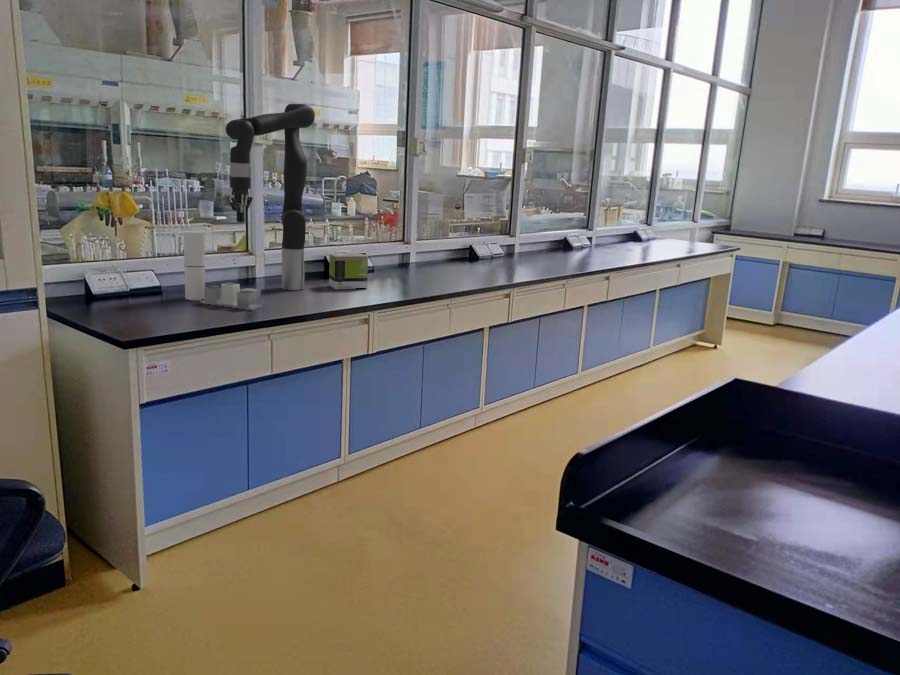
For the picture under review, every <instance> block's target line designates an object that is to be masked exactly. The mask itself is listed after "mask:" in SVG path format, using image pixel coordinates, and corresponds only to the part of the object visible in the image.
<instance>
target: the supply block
mask: <svg viewBox="0 0 900 675" xmlns="http://www.w3.org/2000/svg"><path fill="white" fill-rule="evenodd" d="M243 290H249V291H255V292H257V300H258V298H259V299H261V297H262V296H261V295H262V294H261V293H262V289H256V288H250V287H246V288H240V291H243Z"/></svg>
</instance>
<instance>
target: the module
mask: <svg viewBox="0 0 900 675" xmlns="http://www.w3.org/2000/svg"><path fill="white" fill-rule="evenodd" d="M220 285H221V286H220V287H221V300H222V303H224V304H231V305H234V304H237V292H239V291H240V290H241V288H240V287H241V284H240V283H235V282H225V283H224V282H223V283H221V284H220Z"/></svg>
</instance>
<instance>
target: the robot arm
mask: <svg viewBox="0 0 900 675" xmlns="http://www.w3.org/2000/svg"><path fill="white" fill-rule="evenodd" d="M315 119H316V114H315V111H314V109H313V107H312V106H310V105H308V104H304V103H289V104H287V105H286V106H285V108H284V111H283V112H274V113H264V114H259V115H255V116H253V117H246V118H238V119H237V118H235V119H233V120H230V121H229V122H228V123H227V124H226V126H225V133H226V135H227V137H229V138H230V139H232V140H235V141H237V142H236V145H234V146H232V147H231V148H230V154H229V157H230V158H229V160H230V161H229V163H230V164H229V188H230V189H231V190H232V191H231V196H230V197H227V201H228V203H229V205H230V207H231V210H232V211H235V213H236V223H244V222H245V213H246V212H247V211H248V210H249V208H250V206H251V203H252V201H253V197H251V196H250V195H249V194H250V193H249V190H250V189H251V186H252V184H251V181H252V178H251V173H252V172H251V164H250V163H251V160H250V158H251V157H250V156H251V149H252V145H253V141H254V138H255V136H262V135H263V136H264V135H266V134H271V133H276V132H279V131H282V130H284V157H283V158H284V160H283V192H284V193H283V194H284V196H283V205H282V214H281V216H280V217H281V219H280V220H281V224H282V241H281V289H282V290H286V289H287V291H300V289H302V290H304V289H303V288H305V273H306V272H305V243H306V228H307V227H306V226H307V224H306V222H307V221H306V217H305V215H304V214H303V195H304V191H305V186H306V181H307V175H308V174H307V172H308V161H307V158H306V155H305V152H304V150H303V148H302V147H303V146H302V145H301V144H302V143H301V141H300V128H301V129H304V128H310V127H311V126H312V125H313V124H314V122H315Z"/></svg>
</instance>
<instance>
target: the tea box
mask: <svg viewBox="0 0 900 675" xmlns="http://www.w3.org/2000/svg"><path fill="white" fill-rule="evenodd" d="M328 258H329V259H328V260H329V261H328V262H329V265H328V266H329V267H328V272H329V274H328V279H329V280H328V282H329V284H328V285H329V287H331V288H332V287H333V288H334V289H333V288H332V289H333V290H357V289H356V288H367V289H368V271H369V270H368V268H369V267H368V264H369V259H368V258H369V256H368V255H365V254H362V253H329V256H328Z"/></svg>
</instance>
